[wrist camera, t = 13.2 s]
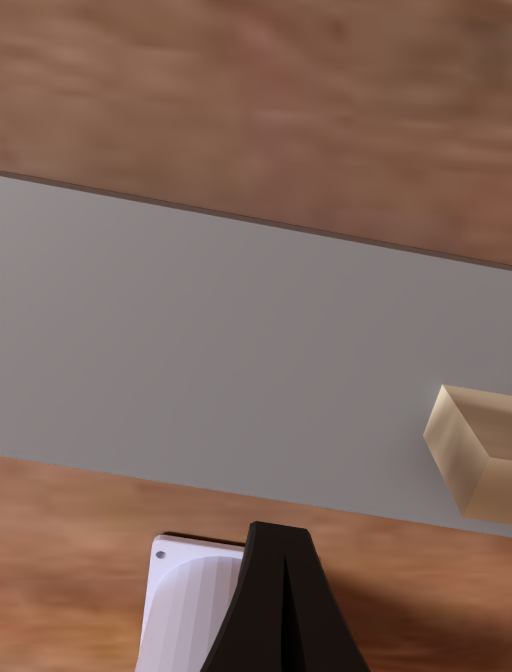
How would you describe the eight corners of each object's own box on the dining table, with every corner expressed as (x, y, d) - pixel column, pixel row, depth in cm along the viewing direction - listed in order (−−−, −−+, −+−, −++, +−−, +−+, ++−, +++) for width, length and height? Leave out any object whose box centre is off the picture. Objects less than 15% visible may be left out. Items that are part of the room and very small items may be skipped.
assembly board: (728, 557, 23) (747, 574, 23) (11, 442, 22) (0, 456, 21) (906, 339, 19) (939, 350, 18) (0, 170, 17) (-15, 173, 16)
